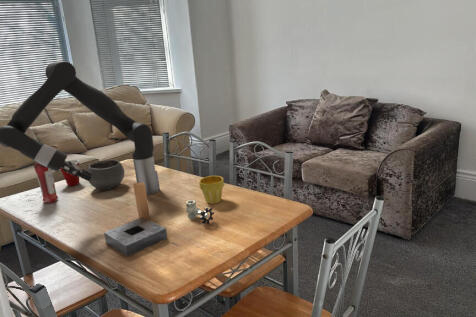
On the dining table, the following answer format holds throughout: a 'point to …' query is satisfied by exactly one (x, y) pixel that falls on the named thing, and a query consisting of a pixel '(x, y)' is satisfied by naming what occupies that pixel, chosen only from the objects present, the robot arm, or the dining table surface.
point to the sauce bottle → (46, 182)
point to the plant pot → (212, 188)
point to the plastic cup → (69, 177)
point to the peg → (141, 200)
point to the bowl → (106, 174)
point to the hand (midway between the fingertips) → (90, 177)
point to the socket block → (135, 236)
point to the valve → (198, 212)
